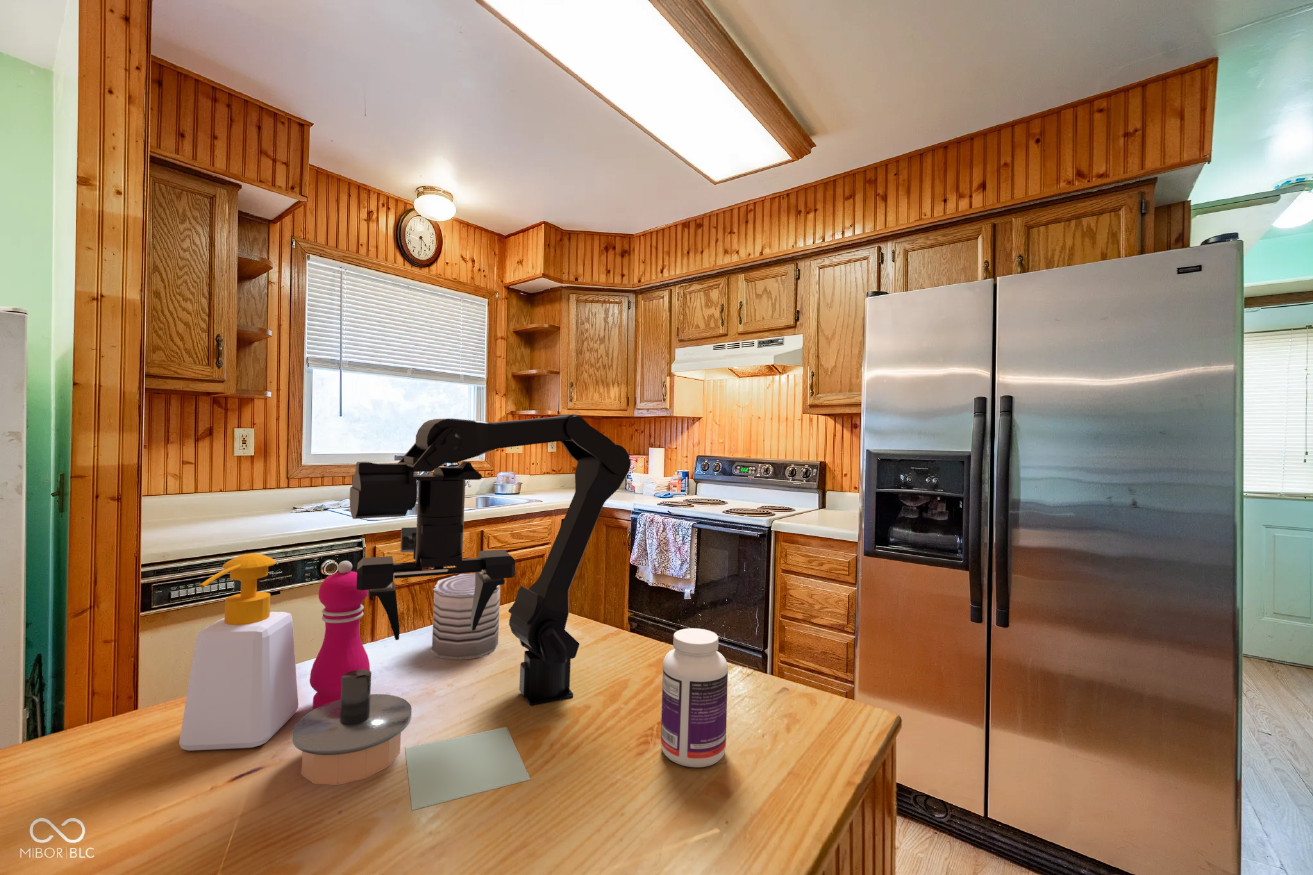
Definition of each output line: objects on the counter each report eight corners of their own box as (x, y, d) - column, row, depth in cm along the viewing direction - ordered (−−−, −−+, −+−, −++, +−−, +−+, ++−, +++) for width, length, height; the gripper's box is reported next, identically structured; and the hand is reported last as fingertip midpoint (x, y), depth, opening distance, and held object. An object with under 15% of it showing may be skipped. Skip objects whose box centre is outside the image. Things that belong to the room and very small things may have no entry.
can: (512, 645, 99) (514, 579, 99) (460, 665, 90) (463, 593, 90) (469, 631, 105) (472, 569, 105) (417, 649, 96) (420, 581, 96)
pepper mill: (341, 721, 71) (348, 568, 71) (295, 714, 72) (301, 564, 73) (380, 696, 78) (385, 557, 78) (336, 690, 80) (342, 553, 80)
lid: (408, 693, 71) (410, 649, 71) (414, 739, 60) (416, 687, 60) (299, 711, 65) (301, 663, 66) (285, 766, 55) (287, 708, 55)
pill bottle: (731, 742, 69) (735, 630, 70) (717, 778, 62) (721, 652, 62) (671, 729, 72) (674, 620, 72) (650, 762, 65) (655, 641, 65)
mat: (506, 729, 71) (506, 726, 71) (530, 781, 60) (530, 778, 60) (405, 750, 65) (405, 748, 65) (412, 812, 54) (412, 809, 54)
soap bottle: (142, 779, 58) (151, 571, 58) (224, 714, 72) (231, 546, 72) (241, 774, 60) (250, 571, 60) (302, 711, 73) (309, 546, 73)
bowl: (397, 729, 70) (398, 698, 70) (401, 772, 61) (402, 736, 61) (307, 747, 65) (308, 713, 65) (297, 796, 56) (299, 757, 56)
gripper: (500, 505, 82) (496, 608, 82) (360, 508, 74) (355, 623, 74) (518, 515, 73) (513, 632, 72) (359, 520, 64) (353, 653, 64)
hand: (436, 634), depth 71 cm, fingers open, 9 cm apart
